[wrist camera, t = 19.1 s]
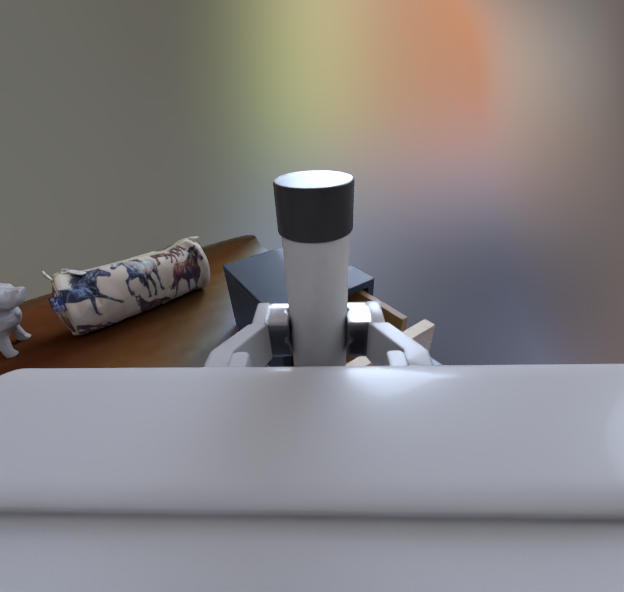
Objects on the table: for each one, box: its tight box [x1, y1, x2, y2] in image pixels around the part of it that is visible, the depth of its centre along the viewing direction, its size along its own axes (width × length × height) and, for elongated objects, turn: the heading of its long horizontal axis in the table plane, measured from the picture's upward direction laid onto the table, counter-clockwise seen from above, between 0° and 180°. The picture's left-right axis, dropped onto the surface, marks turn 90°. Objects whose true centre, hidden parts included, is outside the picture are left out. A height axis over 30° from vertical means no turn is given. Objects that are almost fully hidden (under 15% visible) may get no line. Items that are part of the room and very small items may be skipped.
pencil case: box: [42, 237, 210, 335], centre depth 48 cm, size 22×8×10 cm, turn 131°
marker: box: [273, 170, 354, 367], centre depth 14 cm, size 3×3×14 cm
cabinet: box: [223, 247, 374, 367], centre depth 41 cm, size 15×13×10 cm
